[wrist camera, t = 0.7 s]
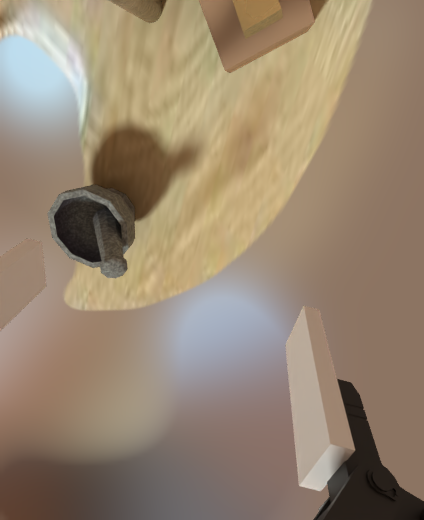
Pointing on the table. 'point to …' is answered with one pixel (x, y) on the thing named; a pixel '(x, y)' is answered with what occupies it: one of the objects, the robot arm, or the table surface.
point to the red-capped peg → (142, 8)
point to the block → (246, 50)
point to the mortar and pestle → (94, 227)
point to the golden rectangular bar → (257, 14)
